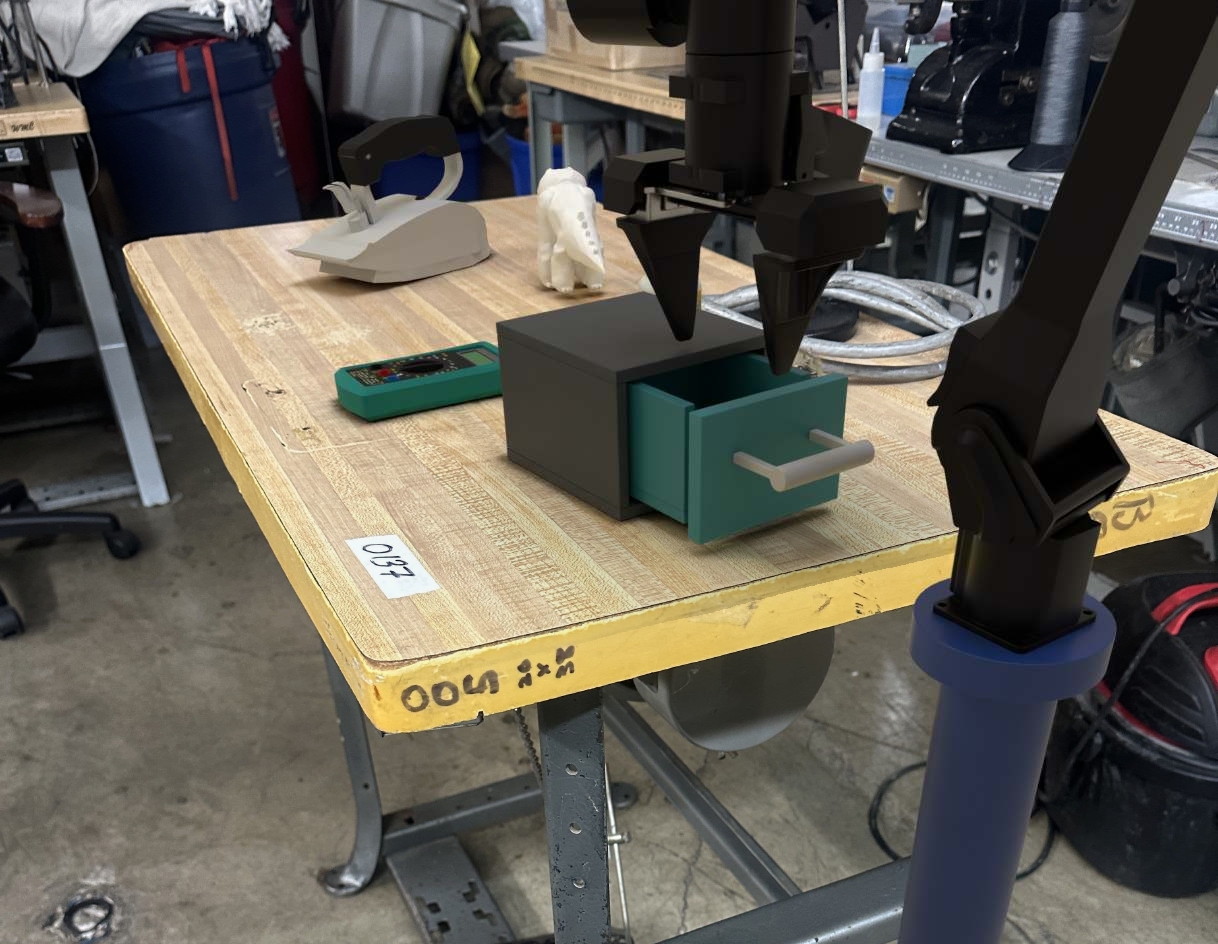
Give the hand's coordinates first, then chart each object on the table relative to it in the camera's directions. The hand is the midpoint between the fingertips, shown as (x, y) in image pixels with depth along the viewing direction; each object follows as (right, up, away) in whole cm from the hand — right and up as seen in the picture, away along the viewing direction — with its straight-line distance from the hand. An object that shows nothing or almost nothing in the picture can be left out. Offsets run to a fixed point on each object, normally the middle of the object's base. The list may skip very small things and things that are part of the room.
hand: (730, 356), depth 71 cm
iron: (-31, +35, +64) cm, 80 cm away
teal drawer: (0, -7, +5) cm, 9 cm away
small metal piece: (+8, +8, +26) cm, 29 cm away
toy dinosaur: (-11, +27, +53) cm, 60 cm away
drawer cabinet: (-6, -3, +13) cm, 14 cm away
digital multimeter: (-22, +7, +27) cm, 36 cm away
